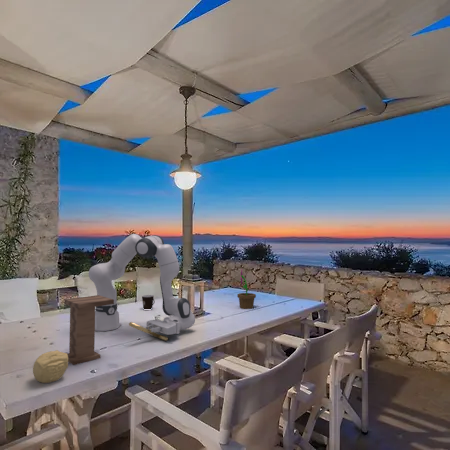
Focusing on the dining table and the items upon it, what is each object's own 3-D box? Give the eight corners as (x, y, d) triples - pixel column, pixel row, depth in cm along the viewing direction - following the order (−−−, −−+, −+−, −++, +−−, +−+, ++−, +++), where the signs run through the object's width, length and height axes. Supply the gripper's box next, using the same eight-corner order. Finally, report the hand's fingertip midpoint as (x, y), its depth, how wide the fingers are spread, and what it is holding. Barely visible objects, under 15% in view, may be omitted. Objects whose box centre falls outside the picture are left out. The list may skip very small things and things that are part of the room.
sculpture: (40, 389, 122) (40, 359, 122) (28, 379, 130) (28, 351, 130) (71, 379, 131) (72, 351, 131) (58, 370, 139) (59, 344, 139)
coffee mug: (140, 308, 256) (141, 295, 256) (152, 307, 259) (152, 294, 259) (143, 312, 245) (143, 298, 245) (155, 311, 248) (155, 297, 249)
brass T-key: (154, 332, 189) (152, 336, 188) (123, 319, 175) (121, 322, 175) (169, 337, 179) (167, 341, 178) (137, 324, 166) (135, 328, 165)
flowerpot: (238, 305, 270) (238, 267, 271) (256, 306, 268) (256, 268, 269) (236, 309, 256) (236, 269, 257) (255, 310, 254) (255, 270, 255)
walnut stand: (61, 356, 154) (62, 299, 155) (97, 348, 166) (98, 295, 167) (75, 366, 143) (76, 304, 144) (112, 356, 155) (113, 299, 156)
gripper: (159, 315, 195) (138, 319, 185) (181, 322, 181) (159, 327, 171) (159, 326, 195) (137, 331, 185) (181, 334, 181) (159, 339, 171)
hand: (148, 329), depth 178 cm, fingers open, 3 cm apart
